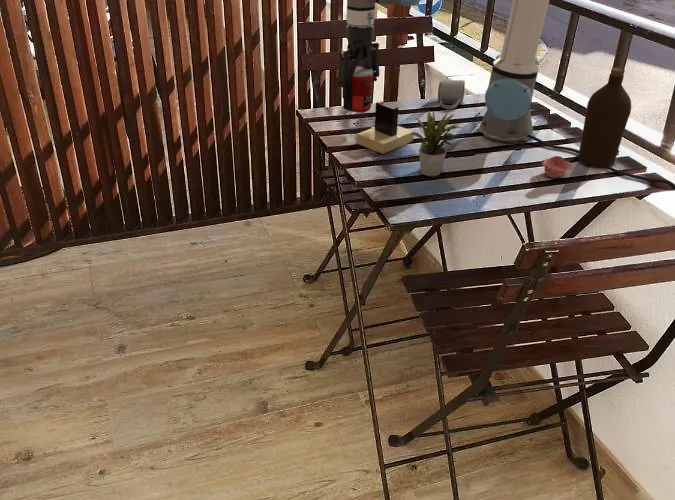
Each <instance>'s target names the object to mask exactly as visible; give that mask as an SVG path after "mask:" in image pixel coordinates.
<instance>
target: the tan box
mask: <svg viewBox="0 0 675 500" xmlns="http://www.w3.org/2000/svg"><path fill="white" fill-rule="evenodd" d="M412 132H415V131H413V130H411V129H408V128H406V127H402V126H400V125H397V135H394V136H392V137H391V136H389V135H386V134H384V133H381V132H378V131H376V130H375V126H371V128H369V129H366V130H363V131H360V132H358V133H357V134H356V144H357V145H359V146H362V147H364V148H367V149H369V150H371V151H375V152H377V153H380V154H382V155H384V154H386V153H389V152H391V151H393V150H395V149H398V148H400V147H403V146H406V145H407V144H411V143H412V142H414V135H412V134H410V133H412Z"/></svg>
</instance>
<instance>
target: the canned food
mask: <svg viewBox="0 0 675 500" xmlns="http://www.w3.org/2000/svg"><path fill="white" fill-rule="evenodd" d="M372 82H373V71H372V70H371V69H366V68H364V67H363V66H356V69H355V73H354V74H353V80H352V83H351V86H350V87H351V88H353V90H352V111H349V110H347V111H348V112H351V113H365V112H368V111H370V110H371V108H372V104H371V102H372V103H373V91H372ZM346 83H347V82H346Z"/></svg>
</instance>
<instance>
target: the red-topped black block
mask: <svg viewBox="0 0 675 500" xmlns="http://www.w3.org/2000/svg"><path fill="white" fill-rule="evenodd" d="M398 121H399V106H396V105H393V104H390V103H388V102H385V101H383V100H380V101H377V102H376V103H375V114H374V127H375V130H376V131H378V132H381V133H384V134H386V135H389V136H391V137H392V136H394V135H397V126H398V123H399V122H398Z"/></svg>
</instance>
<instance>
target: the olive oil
mask: <svg viewBox="0 0 675 500" xmlns="http://www.w3.org/2000/svg"><path fill="white" fill-rule="evenodd" d="M625 71H626V70H625V69H624V68H622V67H611V70H610V73H609V75H608V81H607V83H606V84H605V85H603V86H602V87H599V89H598V90H596V91H595V92H594V93H592V95H590V97H589V100H588V102H587V105H586V110H585V116H584V122H583V128H582V133H581V140H580V145H579V149H578V150H579V154H578V153H577V154H578V155H577V160H578V161H579V162H580V163H581V164H583V165H585V166H587V167H591V168H597V169H605V168H604V165H608V166H610V167H613V166H614V165H615V162H616V159H617V155H618V152H619V149H620V145H621V142H622V139H623V137H624V133H625V130H626V127H627V124H628V121H629V118H630V116H631V111H632V100H631V97H630V96H629V94H628V92H627V91H626V89H625V87H624V86H623V85H622V84H623V81H624V77H625V75H624V74H625Z"/></svg>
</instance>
